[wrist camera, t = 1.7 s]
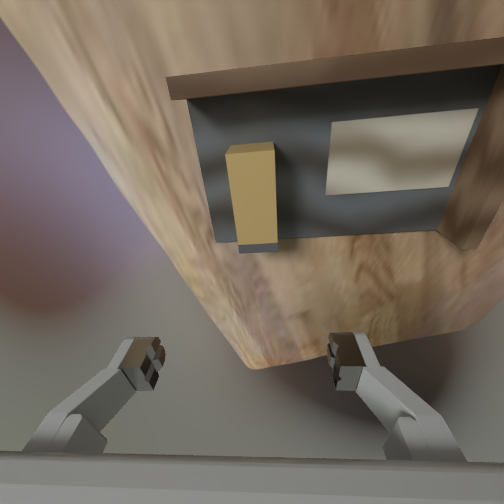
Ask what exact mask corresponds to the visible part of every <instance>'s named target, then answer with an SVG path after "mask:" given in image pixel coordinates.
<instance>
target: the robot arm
mask: <svg viewBox="0 0 504 504" xmlns="http://www.w3.org/2000/svg"><path fill="white" fill-rule="evenodd" d="M160 342H161V341H160V339H159V337H127V338H125V339H124V340H123V342H122V344H121V345H120V347H119V349H118V350H117V352H116V354H115V355H114V357H113V359H112V361H111V362H110V364H109V366H108V368H107V369H103V370H102V371H101V372H99V373H98V374H97V375H96V376H94V377H93V378H92V379H91V380H89V381H88V382H87V383H85V384H84V385H83V386H82V387H81V388H79V389H78V390H77V391H76V392H74V393H73V394H72V395H70V396H69V397H68V398H67V399H65V400H64V401H63V402H62V403H60V404H59V405H58V406H57V407H55V408H54V409H53V410H51V411H50V412H49V413H48V414H47V416H46V417H45V419H44V420H43V421H42V423H41V424H40V426H39V427H38V429H37V430H36V431H35V433H34V434H33V436H32V437H31V439H30V440H29V442H28V443H27V445H26V446H25V447H24V449H23V450H22V451H0V504H504V463H495V462H467V460H466V458H465V456H464V455H463V453H462V451H461V449H460V448H459V446H458V444H457V442H456V440H455V439H454V437H453V435H452V433H451V432H450V430H449V428H448V426H447V425H446V423H445V421H444V419H443V417H442V416H441V415H440V414H438V413H437V412H436V411H435V410H434V409H433V408H431V407H430V406H429V405H428V404H427V403H426V402H424V401H423V400H422V399H421V398H420V397H419V396H417V395H416V394H415V393H414V392H413V391H412V390H411V389H409V388H408V387H407V386H406V385H405V384H404V383H402V382H401V381H400V380H399V379H398V378H396V377H395V376H394V375H393V374H392V373H391V372H389V371H388V370H387V369H386V368H385V367H380V365H379V362H378V360H377V358H376V356H375V354H374V351H373V349H372V347H371V344H370V342H369V340H368V338H367V335H366V334H365V333H364V332H354V333H352V332H343V333H330V334H329V342H330V343H328V345H327V355H328V361H329V364H330V366H331V367H332V368H333V372H332V377H333V381H334V385H335V389H336V390H347V391H351V390H352V391H356V393H357V394H358V395H359V396H360V397H361V398H362V400H363V401H364V402H365V403H366V404H367V406H368V407H369V408H370V409H371V410H372V412H373V413H374V414H375V415H376V416H377V418H378V419H379V420H380V421H381V422H382V424H383V425H384V426H385V427H386V428H387V429H388V431H389V432H390V434H389V436H388V438H387V440H386V441H385V443H384V445H383V450H384V453H385V456H386V459H387V460H366V459H325V458H282V457H241V456H198V455H197V456H194V455H157V454H156V455H154V454H113V453H112V454H111V453H103V451H104V448H105V446H106V444H107V439H106V437H104V436H103V435H102V434H101V433H100V431H101V430H102V429H103V428H104V427H105V426H106V425H107V424H108V423H109V421H110V420H111V419H112V418H113V417H114V416H115V415H116V414H117V413H118V411H119V410H120V409H121V408H122V407H123V406H124V405H125V404H126V402H127V401H128V400H129V399H130V398H131V397H132V396H133V395H134V394H135V393H136V391H147V390H154V388H155V385H156V383H157V380H158V377H159V374H158V371H159V370H160V369H161V368H162V367H163V364H164V361H165V349H164V347H163V346H161V345H160Z"/></svg>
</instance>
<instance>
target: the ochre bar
mask: <svg viewBox="0 0 504 504" xmlns="http://www.w3.org/2000/svg"><path fill="white" fill-rule="evenodd" d="M225 157H226V164H227V171H228V178H229V185H230V191H231V198H232V205H233V212H234V219H235V226H236V233H237V240H238V246H239V253H259V252H278V238H277V208H276V178H275V150H274V145H273V142H263V143H253V144H242V145H231V146H230V148H229V149H228V151H227V152H226V154H225Z"/></svg>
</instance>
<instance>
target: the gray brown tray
mask: <svg viewBox="0 0 504 504" xmlns="http://www.w3.org/2000/svg"><path fill="white" fill-rule="evenodd" d="M166 81H167V85H168V89H169V93H170V97H171V100H182V99H187V104H188V109H189V114H190V118H191V123H192V128H193V133H194V138H195V143H196V147H197V152H198V157H199V162H200V167H201V172H202V176H203V181H204V186H205V191H206V196H207V201H208V205H209V210H210V215H211V220H212V225H213V230H214V235H215V239H216V242H232V241H238V240H237V233H236V226H235V219H234V212H233V205H232V198H231V191H230V185H229V178H228V171H227V164H226V157H225V154H226V152H227V151H228V149H229V148H230V146H231V145H242V144H253V143H263V142H273V145H274V150H275V178H276V208H277V238H278V239H285V238H303V237H320V236H338V235H356V234H374V233H391V232H409V231H427V230H437V231H438V232H440V233H441V234H442V235H443V236H445V237H446V238H447V239H448V240H450V241H451V242H452V243H454V244H455V245H456V246H457V247H459V248H460V249H461V250H471V249H477V247H478V245H479V244H480V242H481V240H482V238H483V236H484V234H485V232H486V230H487V229H488V227H489V225H490V223H491V221H492V219H493V217H494V216H495V214H496V212H497V210H498V208H499V206H500V204H501V203H502V201H503V199H504V37H500V38H492V39H483V40H475V41H466V42H458V43H450V44H441V45H433V46H424V47H416V48H408V49H399V50H391V51H382V52H374V53H366V54H357V55H349V56H340V57H332V58H324V59H315V60H307V61H298V62H290V63H282V64H273V65H265V66H256V67H248V68H240V69H231V70H223V71H214V72H206V73H198V74H189V75H181V76H172V77H166Z"/></svg>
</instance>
